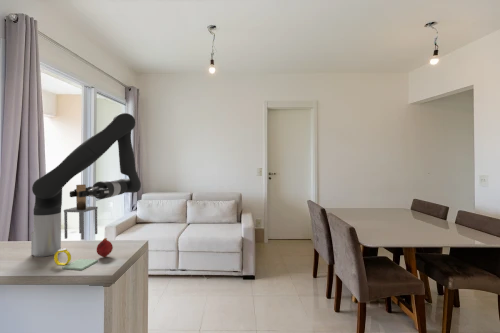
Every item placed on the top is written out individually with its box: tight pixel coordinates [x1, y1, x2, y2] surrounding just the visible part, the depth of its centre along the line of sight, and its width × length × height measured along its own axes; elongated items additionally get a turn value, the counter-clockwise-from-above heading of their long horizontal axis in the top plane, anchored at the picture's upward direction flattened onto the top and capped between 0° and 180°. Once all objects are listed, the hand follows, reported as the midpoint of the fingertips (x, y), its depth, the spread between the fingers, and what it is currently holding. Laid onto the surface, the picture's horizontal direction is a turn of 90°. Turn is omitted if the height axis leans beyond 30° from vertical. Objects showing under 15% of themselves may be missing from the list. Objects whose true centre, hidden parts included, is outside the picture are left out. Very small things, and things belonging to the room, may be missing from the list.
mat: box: [61, 258, 99, 271], centre depth 95 cm, size 8×8×1 cm
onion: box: [96, 237, 114, 258], centre depth 103 cm, size 6×6×8 cm
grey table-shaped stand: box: [63, 184, 99, 241], centre depth 95 cm, size 8×8×20 cm
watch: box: [53, 247, 72, 266], centre depth 95 cm, size 6×3×6 cm, turn 85°
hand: (75, 194), depth 92 cm, fingers closed on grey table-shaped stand, 3 cm apart
